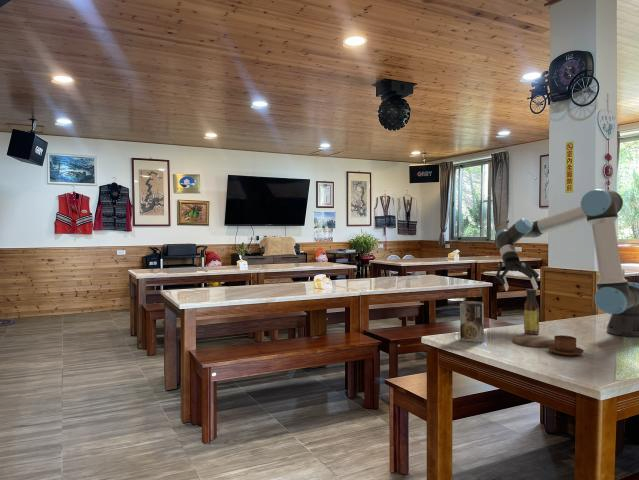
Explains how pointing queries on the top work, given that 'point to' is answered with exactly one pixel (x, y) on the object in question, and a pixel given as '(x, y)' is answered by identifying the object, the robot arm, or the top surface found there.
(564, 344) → the cup and saucer
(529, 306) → the sauce bottle
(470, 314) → the coffee box
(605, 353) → the top surface
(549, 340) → the coaster pad
